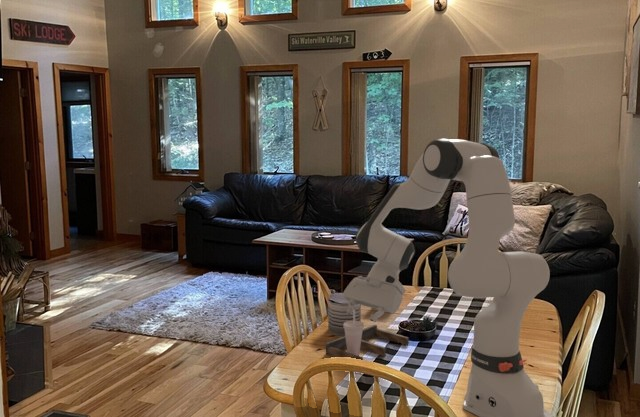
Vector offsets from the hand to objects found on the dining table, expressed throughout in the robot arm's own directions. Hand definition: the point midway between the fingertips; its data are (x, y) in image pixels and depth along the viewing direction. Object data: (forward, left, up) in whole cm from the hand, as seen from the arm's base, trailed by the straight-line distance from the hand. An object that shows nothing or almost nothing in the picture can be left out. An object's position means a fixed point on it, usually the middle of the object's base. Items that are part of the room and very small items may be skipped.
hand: (360, 317), depth 186 cm
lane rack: (0, -3, -11) cm, 11 cm away
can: (+19, -4, -11) cm, 22 cm away
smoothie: (-1, +3, -11) cm, 12 cm away
